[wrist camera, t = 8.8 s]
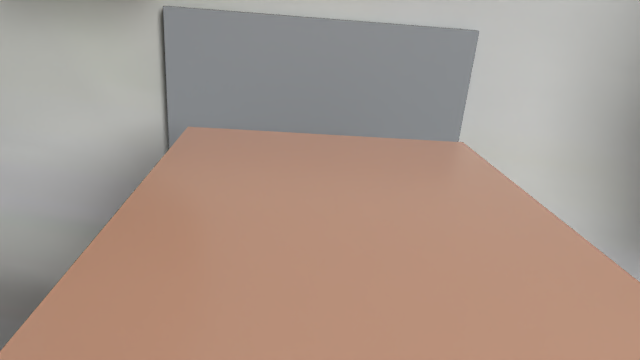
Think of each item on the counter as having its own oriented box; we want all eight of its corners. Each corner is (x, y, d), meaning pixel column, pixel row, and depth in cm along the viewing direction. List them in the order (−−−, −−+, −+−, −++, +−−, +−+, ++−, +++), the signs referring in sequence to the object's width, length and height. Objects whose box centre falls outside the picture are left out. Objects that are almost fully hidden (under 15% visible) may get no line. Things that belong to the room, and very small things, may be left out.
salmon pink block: (187, 126, 11) (-9, 360, 4) (462, 142, 12) (752, 372, 4) (194, 353, 14) (81, 765, 6) (421, 357, 14) (564, 737, 7)
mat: (166, 5, 14) (162, 6, 14) (474, 30, 15) (479, 30, 15) (177, 278, 18) (174, 284, 18) (427, 286, 19) (429, 291, 18)
